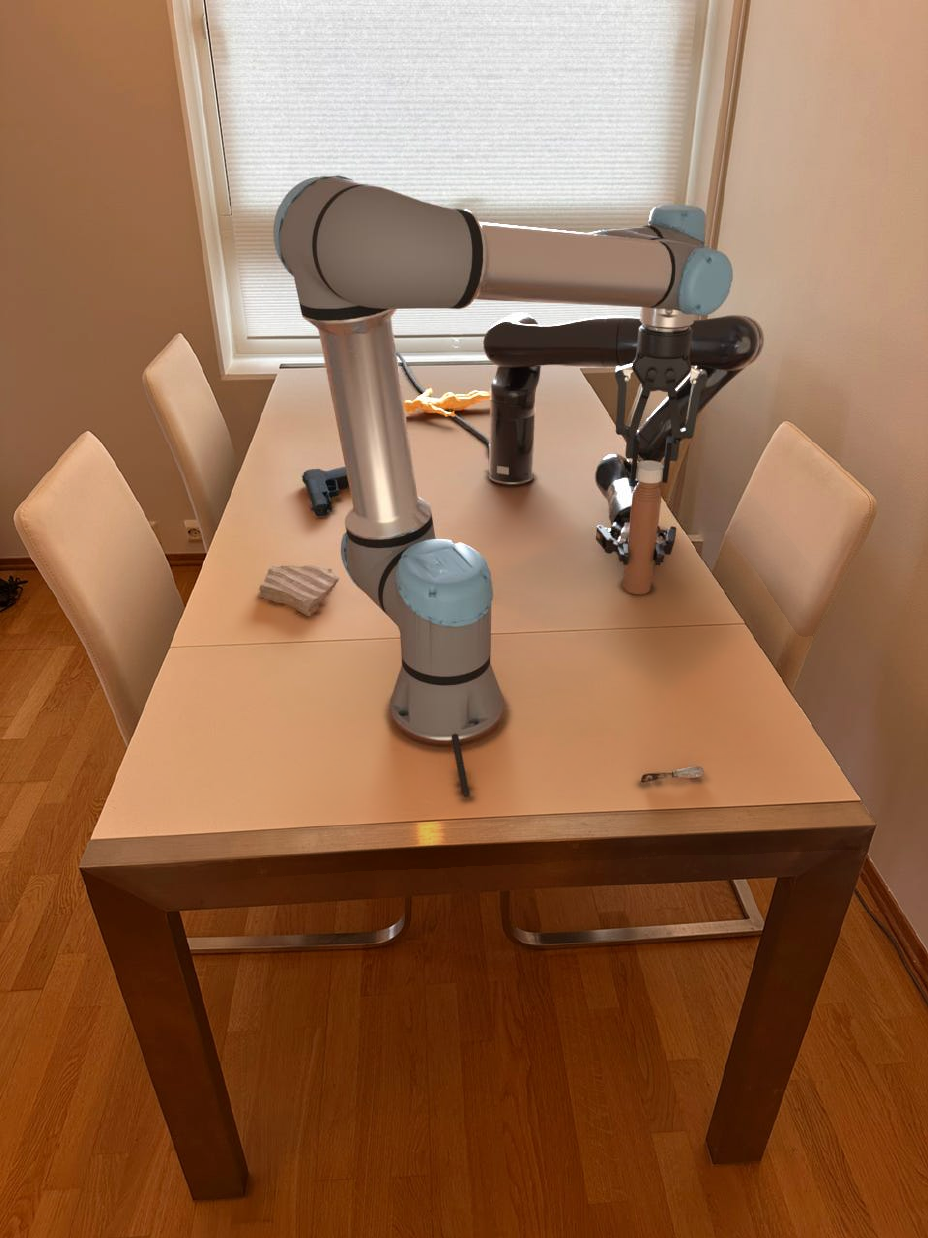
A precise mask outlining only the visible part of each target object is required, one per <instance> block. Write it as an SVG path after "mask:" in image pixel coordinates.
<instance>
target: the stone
mask: <svg viewBox="0 0 928 1238" xmlns="http://www.w3.org/2000/svg"><path fill="white" fill-rule="evenodd" d="M338 582H339V577H338V576H337V575H336V574H335V573H333V569H332V568H324V567H321V566H318V565H301V566H299V565H291V564H283V565H281V566H273V565H272V566H270V567H269V568H268V570H267V573H266V574H265V578H264V581H263V582H262V583H261V584H260V585H259V593H258V596H259V597H260V598H263V599H265V600H270V601H272V602H275V603H277V604H285V605H288V606H289V607H292V608H293V609H295V610H296V611H298V612H299V613H301V614H303V615H304V616H307V617H311V616H312V615H313V614H314V613H315V612H317V611H318V609H319V607H320V606H319V605H320V604H321V602H322V601H323V600H324V599H325V598H326V595H328V594H331V592H332V591H333V589H334V588H335V586H336V584H337V583H338Z"/></svg>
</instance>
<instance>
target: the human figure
mask: <svg viewBox="0 0 928 1238" xmlns="http://www.w3.org/2000/svg"><path fill="white" fill-rule="evenodd" d="M424 390H425V393H421V394H420V395H418V396H416V398H415V399H414V400H403V401H404V408H405V413H410V414H412V413H414V412H417V408H418V409H420V410H421V411H423V412H424V413H427V414H439V415H443V416H444V417H449V416H450V415H451V416H450V417H451V418H453V417H454V416H455V415H456V413H455V411H462V410H464V409H467V408H469V407H471V406H473V405H476V404H478V403H481V402H484V401H488V400H490V391H478V390H473V391H470V392H469V393H468V394H460V393H457V394H455V393H453V392H446V393H444V394H443V395H442V396H441V397H440V398H434V397H432V398H429V397H428V396H429V395H432V394H433V392H434V391H433V389H432V385H429V387H428V389H424ZM447 409H448V410H450V411H451V410H452V411H451V412H446V411H445V410H447Z"/></svg>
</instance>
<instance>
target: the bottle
mask: <svg viewBox="0 0 928 1238" xmlns="http://www.w3.org/2000/svg"><path fill="white" fill-rule="evenodd" d="M661 504H662V491H661V487H660V484H659V482H658V483H644V482H640V481H639V482H638V483H637V486H636V488H635V489H634V491H633V494H632V503H631V513H630V522H629V532H628V542H627V547H628V552H629V559H628V565H624V570H623V571H624V573H623V580H622V581H623V582H622V589H623V590H624V591H626V592H628V593H630V594H634V595H643V594H647V593H649V592H650V590H651V586H652V578H653V571H654V564H655V562H654V555H655V546H656V538H657V530H658V526H659V520H660V514H661V513H660V512H661V506H662V505H661Z"/></svg>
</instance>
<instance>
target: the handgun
mask: <svg viewBox="0 0 928 1238" xmlns="http://www.w3.org/2000/svg"><path fill="white" fill-rule="evenodd" d="M301 480H302V481H301V482H302V483H304V485H305V488H306V490H307V494H308V497H309V500H310V502H311V507H310V508H309V510H310V511H313V513H314V515H315V516H316V517H319V518H320V517H321V518H322V517H327V516H328V513H332V512H333V507H332V500H331V499H332V498H337V497H339V496H340V493H339V491H341V490H345V489H350V488H349V483H348V478H347V473H346V468H345V466H342V467H337V468H333V469H330V470H322V469H320V468H310V469H306V470H305V471H304V472H303V473H302V475H301ZM328 511H329V512H328Z"/></svg>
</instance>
